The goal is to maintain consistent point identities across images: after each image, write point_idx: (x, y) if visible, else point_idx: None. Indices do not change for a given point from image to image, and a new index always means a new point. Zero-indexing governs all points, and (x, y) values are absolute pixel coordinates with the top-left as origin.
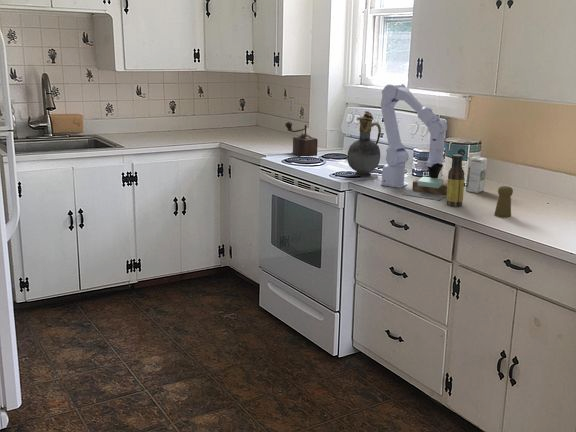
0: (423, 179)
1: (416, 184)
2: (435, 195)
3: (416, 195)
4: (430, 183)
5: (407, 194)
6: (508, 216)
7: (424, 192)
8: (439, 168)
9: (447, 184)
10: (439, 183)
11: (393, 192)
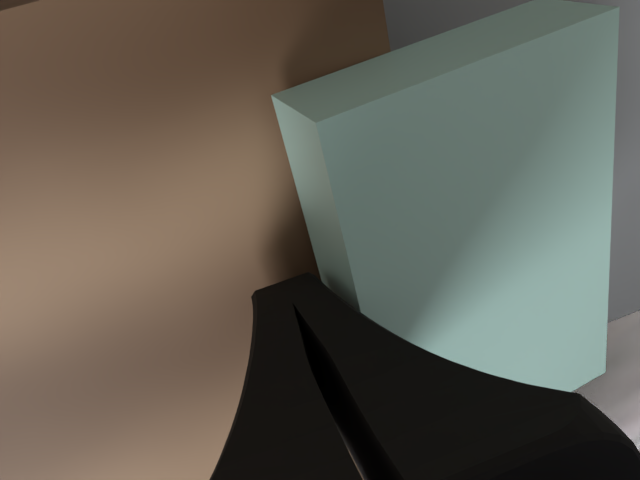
0: (523, 371)
1: None
2: (463, 22)
3: (619, 181)
4: (599, 169)
5: (629, 268)
6: None
7: None
8: (453, 426)
9: (173, 38)
10: (548, 26)
11: (593, 404)
